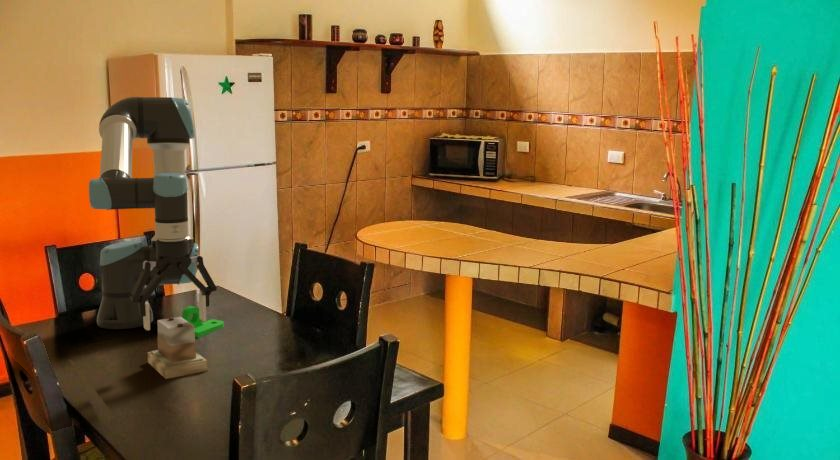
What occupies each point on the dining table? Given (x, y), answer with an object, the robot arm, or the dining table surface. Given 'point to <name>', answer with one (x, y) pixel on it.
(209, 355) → the dining table surface
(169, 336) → the block
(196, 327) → the mechanical part
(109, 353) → the dining table surface
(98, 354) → the dining table surface
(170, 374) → the stand
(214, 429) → the dining table surface
